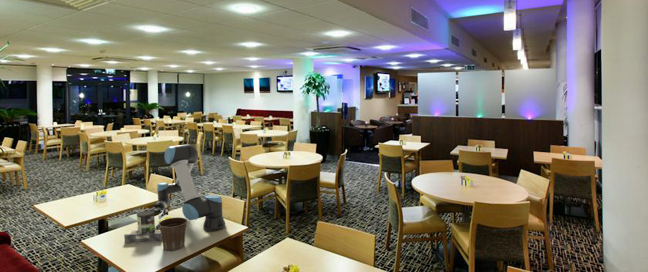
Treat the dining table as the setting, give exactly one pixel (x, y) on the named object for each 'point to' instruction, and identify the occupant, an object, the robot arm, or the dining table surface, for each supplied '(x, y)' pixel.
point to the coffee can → (146, 222)
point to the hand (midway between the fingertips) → (148, 217)
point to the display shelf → (143, 237)
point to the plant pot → (173, 233)
